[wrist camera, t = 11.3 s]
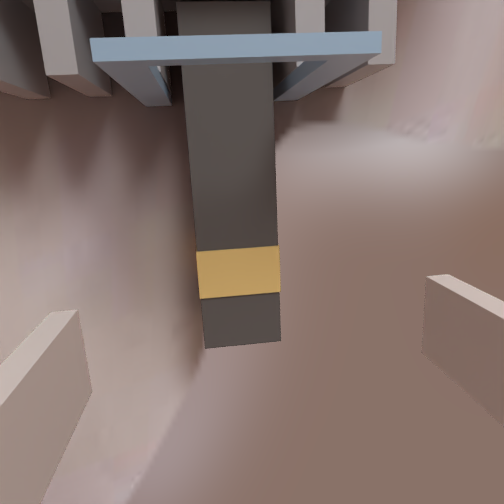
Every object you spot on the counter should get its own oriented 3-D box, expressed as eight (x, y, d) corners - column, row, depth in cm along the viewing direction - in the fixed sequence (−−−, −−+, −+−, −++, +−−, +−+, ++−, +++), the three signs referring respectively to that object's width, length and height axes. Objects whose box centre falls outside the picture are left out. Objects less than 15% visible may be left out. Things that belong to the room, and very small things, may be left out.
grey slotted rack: (-202, 108, 19) (-373, 89, 14) (-241, -11, 18) (-448, -88, 12) (345, 86, 22) (394, 63, 17) (345, -17, 21) (400, -82, 15)
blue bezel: (146, 106, 21) (92, 61, 11) (144, 94, 21) (89, 37, 11) (297, 100, 22) (381, 53, 12) (297, 88, 22) (381, 31, 12)
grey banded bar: (203, 314, 25) (204, 349, 20) (180, 33, 21) (174, 0, 16) (268, 308, 25) (282, 341, 21) (257, 32, 21) (271, 0, 17)
